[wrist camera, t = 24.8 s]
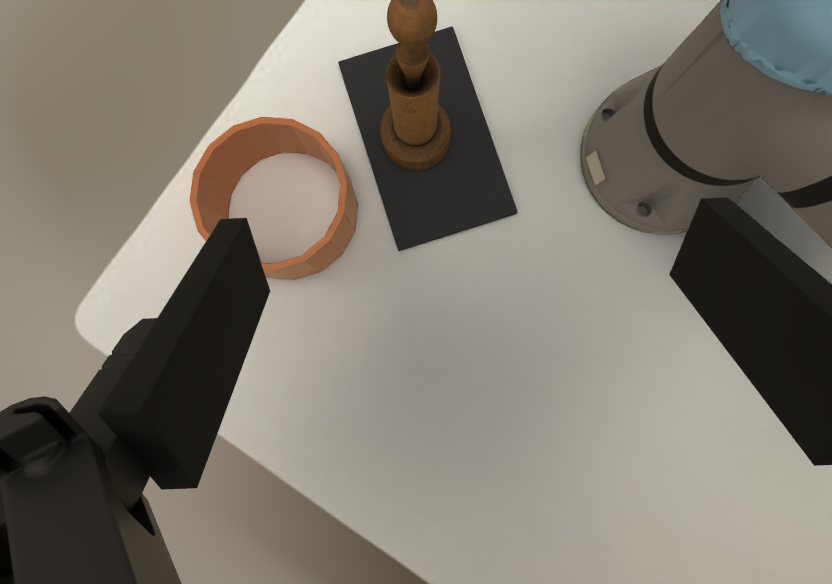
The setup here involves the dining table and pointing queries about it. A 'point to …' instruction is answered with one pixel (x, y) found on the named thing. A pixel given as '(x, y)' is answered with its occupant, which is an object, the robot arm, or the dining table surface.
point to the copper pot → (240, 154)
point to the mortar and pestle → (414, 90)
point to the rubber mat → (455, 174)
